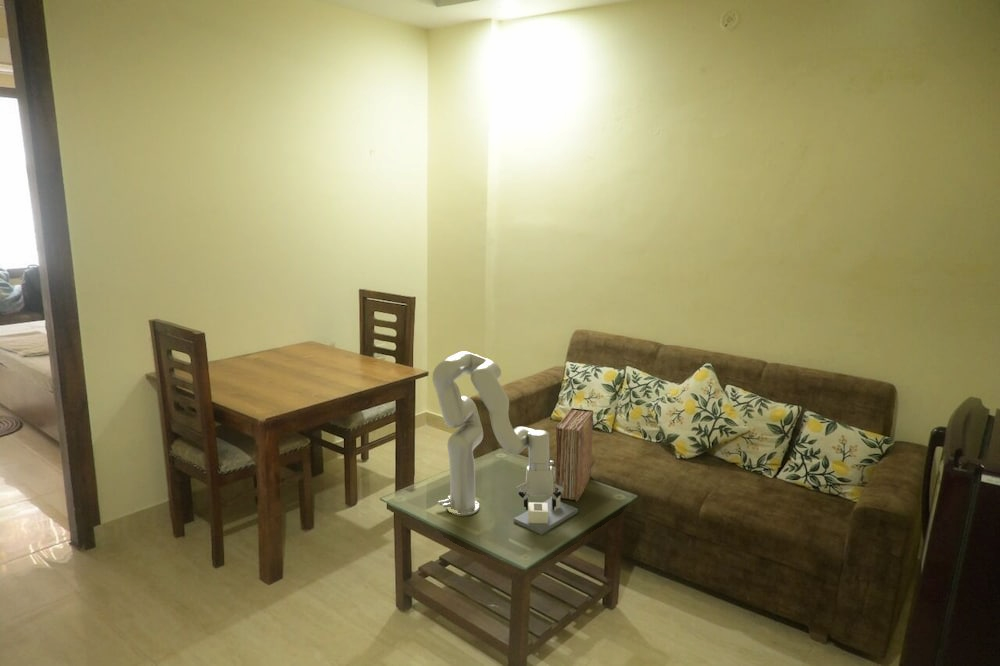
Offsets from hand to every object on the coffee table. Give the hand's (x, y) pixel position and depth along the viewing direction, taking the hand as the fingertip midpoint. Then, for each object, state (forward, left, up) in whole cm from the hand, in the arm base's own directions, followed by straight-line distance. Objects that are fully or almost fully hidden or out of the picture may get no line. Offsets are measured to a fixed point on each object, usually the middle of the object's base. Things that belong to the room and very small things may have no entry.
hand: (540, 508), depth 225 cm
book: (+24, +23, -6) cm, 34 cm away
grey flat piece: (+4, +3, -6) cm, 7 cm away
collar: (-1, 0, -4) cm, 4 cm away
